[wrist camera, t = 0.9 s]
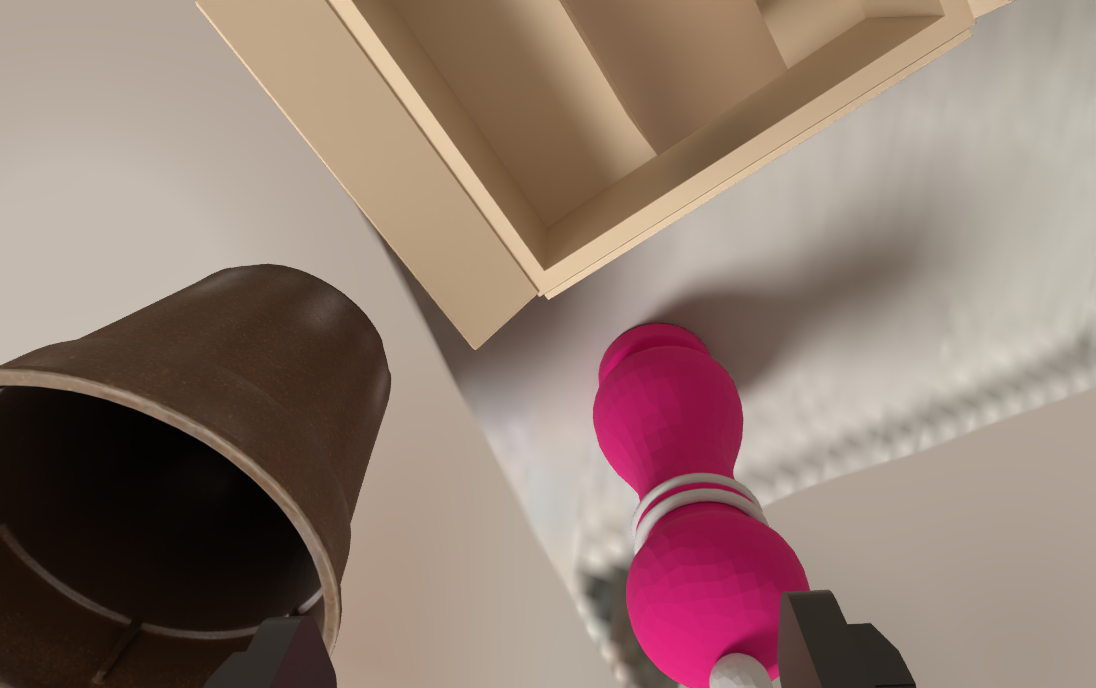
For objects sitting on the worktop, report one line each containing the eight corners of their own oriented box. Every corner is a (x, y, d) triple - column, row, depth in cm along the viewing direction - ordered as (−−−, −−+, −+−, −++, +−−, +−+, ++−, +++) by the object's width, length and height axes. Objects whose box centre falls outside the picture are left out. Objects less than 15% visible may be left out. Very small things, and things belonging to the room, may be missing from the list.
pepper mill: (612, 443, 38) (659, 812, 20) (571, 338, 35) (583, 660, 17) (734, 407, 37) (898, 765, 19) (702, 295, 34) (859, 594, 16)
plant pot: (100, 412, 38) (-183, 650, 24) (170, 162, 32) (-157, 276, 17) (363, 519, 41) (256, 788, 27) (474, 311, 35) (414, 514, 20)
